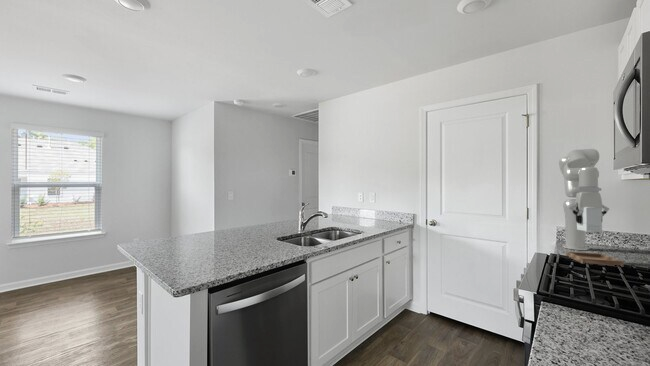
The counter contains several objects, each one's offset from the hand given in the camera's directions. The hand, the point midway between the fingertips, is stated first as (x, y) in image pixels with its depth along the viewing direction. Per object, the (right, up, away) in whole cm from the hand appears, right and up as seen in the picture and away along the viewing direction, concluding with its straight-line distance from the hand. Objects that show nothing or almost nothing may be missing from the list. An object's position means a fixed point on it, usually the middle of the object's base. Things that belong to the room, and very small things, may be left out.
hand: (589, 223), depth 150 cm
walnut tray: (+1, -20, -1) cm, 20 cm away
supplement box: (0, -4, 0) cm, 4 cm away
